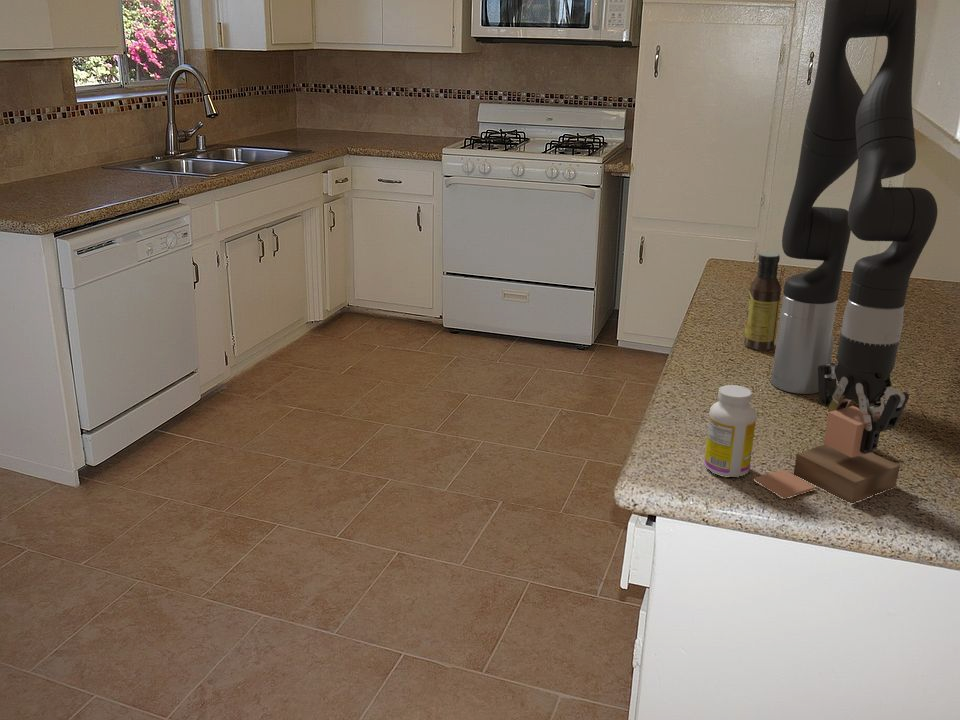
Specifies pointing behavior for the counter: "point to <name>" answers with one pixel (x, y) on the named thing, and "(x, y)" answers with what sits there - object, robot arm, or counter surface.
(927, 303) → the counter surface
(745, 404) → the supplement bottle
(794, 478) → the tile
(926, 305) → the counter surface
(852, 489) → the walnut block
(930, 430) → the counter surface
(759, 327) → the sauce bottle
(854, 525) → the counter surface
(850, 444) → the terracotta block
